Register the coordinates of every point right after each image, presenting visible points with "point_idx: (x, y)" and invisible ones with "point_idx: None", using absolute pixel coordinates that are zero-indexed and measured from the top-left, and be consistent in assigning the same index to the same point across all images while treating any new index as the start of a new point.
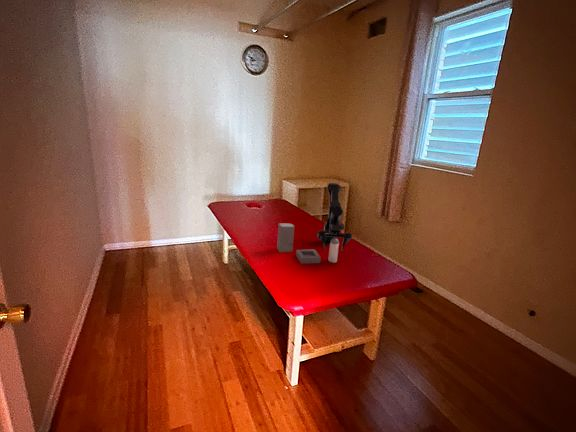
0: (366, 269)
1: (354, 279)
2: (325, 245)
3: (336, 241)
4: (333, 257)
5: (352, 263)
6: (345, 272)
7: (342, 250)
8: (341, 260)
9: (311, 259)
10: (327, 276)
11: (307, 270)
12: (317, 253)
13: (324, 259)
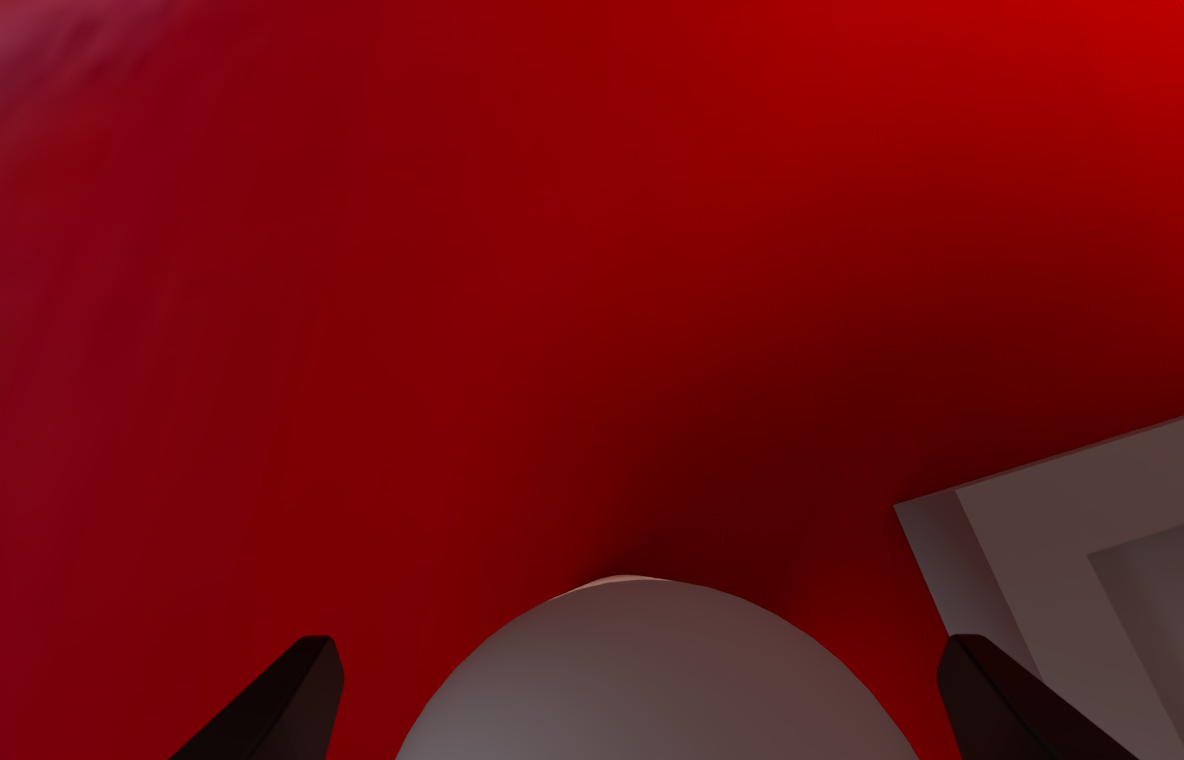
0: (22, 394)
1: (339, 46)
2: (1073, 729)
3: (553, 666)
4: (626, 575)
5: (210, 613)
6: (433, 217)
7: (326, 656)
8: None
9: (1134, 433)
10: (729, 51)
11: (1067, 162)
12: None
13: None
